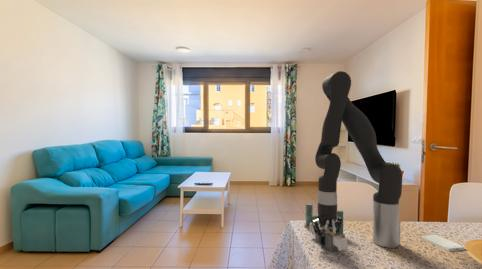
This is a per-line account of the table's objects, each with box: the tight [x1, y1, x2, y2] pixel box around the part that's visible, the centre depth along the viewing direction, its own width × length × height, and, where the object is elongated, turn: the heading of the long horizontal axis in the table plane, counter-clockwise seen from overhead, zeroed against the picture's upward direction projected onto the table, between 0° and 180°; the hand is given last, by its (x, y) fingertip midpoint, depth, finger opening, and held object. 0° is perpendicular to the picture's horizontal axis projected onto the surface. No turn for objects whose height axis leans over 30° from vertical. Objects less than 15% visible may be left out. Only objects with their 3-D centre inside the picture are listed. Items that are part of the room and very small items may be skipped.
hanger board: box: [304, 203, 346, 238], centre depth 117 cm, size 10×16×11 cm, turn 20°
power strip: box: [309, 223, 348, 253], centre depth 103 cm, size 4×19×6 cm, turn 20°
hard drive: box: [420, 234, 465, 252], centre depth 105 cm, size 2×8×12 cm
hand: (327, 243), depth 103 cm, fingers closed on power strip, 4 cm apart
